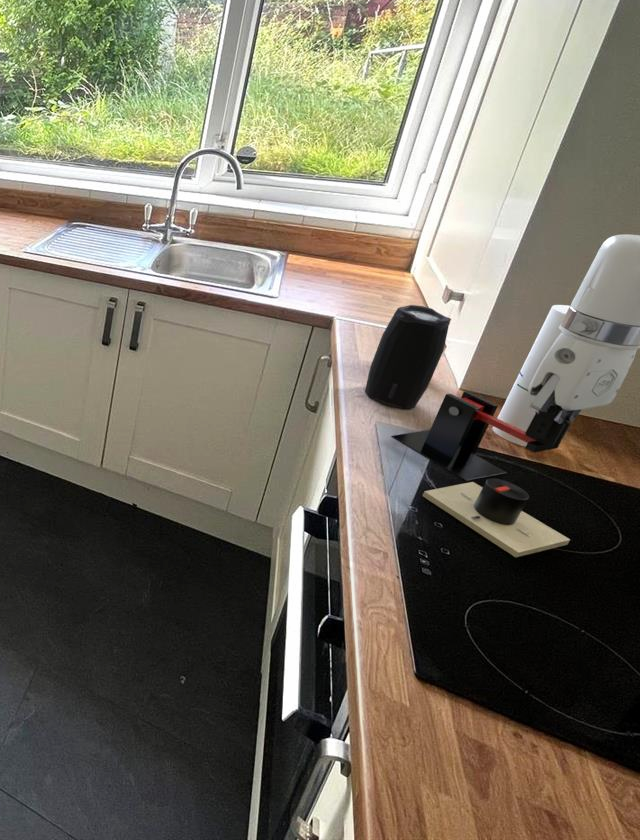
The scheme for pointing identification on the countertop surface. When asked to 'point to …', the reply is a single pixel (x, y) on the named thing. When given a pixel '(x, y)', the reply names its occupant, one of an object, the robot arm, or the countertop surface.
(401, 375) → the portable speaker
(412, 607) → the countertop surface
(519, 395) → the cylindrical container
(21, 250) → the countertop surface
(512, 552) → the panel
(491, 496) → the knob
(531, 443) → the lever
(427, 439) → the black lever stand
